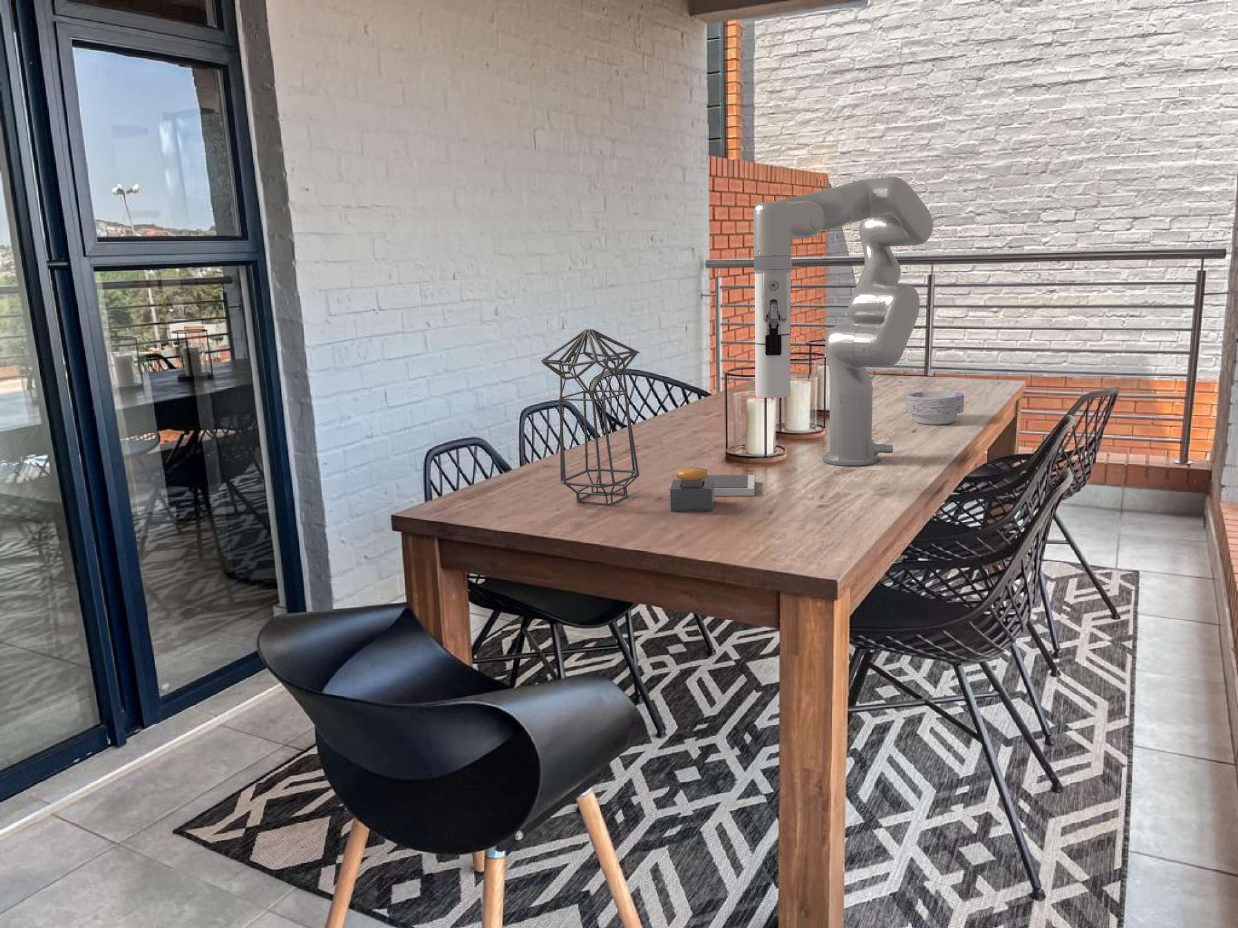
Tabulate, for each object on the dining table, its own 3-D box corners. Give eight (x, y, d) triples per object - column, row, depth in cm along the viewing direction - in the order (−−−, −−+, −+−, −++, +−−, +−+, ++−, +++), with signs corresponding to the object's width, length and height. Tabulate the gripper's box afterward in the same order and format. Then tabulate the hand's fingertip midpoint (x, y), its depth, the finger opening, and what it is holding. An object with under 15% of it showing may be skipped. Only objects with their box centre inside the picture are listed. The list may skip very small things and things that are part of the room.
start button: (708, 492, 192) (708, 467, 191) (707, 500, 186) (706, 474, 185) (678, 492, 193) (677, 467, 192) (676, 500, 187) (675, 474, 186)
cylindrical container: (790, 397, 196) (790, 272, 191) (754, 397, 197) (754, 273, 192) (790, 392, 203) (790, 271, 197) (756, 393, 204) (755, 272, 199)
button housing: (714, 500, 193) (713, 479, 192) (712, 511, 186) (711, 488, 185) (674, 501, 194) (673, 479, 193) (670, 511, 187) (670, 489, 186)
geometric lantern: (613, 512, 188) (600, 332, 180) (548, 506, 196) (533, 334, 189) (653, 493, 201) (642, 324, 193) (590, 487, 209) (578, 326, 202)
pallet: (754, 481, 208) (754, 474, 207) (754, 495, 196) (754, 487, 196) (689, 482, 210) (689, 474, 209) (685, 496, 198) (685, 488, 198)
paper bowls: (907, 417, 276) (908, 389, 274) (964, 418, 270) (965, 390, 269) (902, 426, 262) (903, 397, 260) (962, 428, 257) (963, 398, 255)
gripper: (794, 265, 186) (793, 357, 189) (789, 264, 202) (788, 349, 206) (754, 266, 186) (754, 358, 190) (753, 265, 203) (753, 349, 207)
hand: (772, 352), depth 198 cm, fingers closed on cylindrical container, 7 cm apart
